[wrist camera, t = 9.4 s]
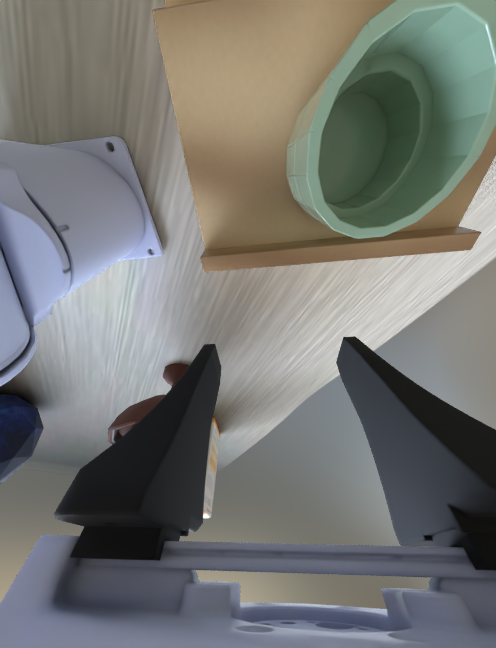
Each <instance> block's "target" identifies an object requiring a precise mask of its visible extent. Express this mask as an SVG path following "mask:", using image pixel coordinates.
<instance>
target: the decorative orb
mask: <svg viewBox="0 0 496 648" xmlns="http://www.w3.org/2000/svg"><path fill="white" fill-rule="evenodd" d="M42 431H43V425H42V421H41V418H40V415H39V412H38V409H37V408H36V407H34V406H32V405H31V404H29V403H28V402H26V401H24V400H23V399H21V398H19V397H18V396H16V395H0V483H2V482H4V481H5V480H7V479H8V478H9V477H10V476H11V475H12V474H13V473H14V472H15V471H16V470H17V469H18V468H19V467H20V466H22V465H23V464H24V463H25V462H26V461H27V460H28V459H29V458H30V457H31V456H32V454H33V452H34V449H35V447H36V445H37V442H38V440H39V438H40V435H41V433H42Z"/></svg>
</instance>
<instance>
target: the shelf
mask: <svg viewBox="0 0 496 648" xmlns="http://www.w3.org/2000/svg"><path fill="white" fill-rule="evenodd" d="M393 1H394V0H164V3H165V8H159V9H154V10H153V17H154V21H155V26H156V30H157V35H158V39H159V44H160V48H161V53H162V57H163V62H164V66H165V71H166V76H167V80H168V85H169V89H170V94H171V98H172V103H173V107H174V112H175V116H176V121H177V125H178V130H179V134H180V139H181V143H182V148H183V152H184V157H185V161H186V166H187V170H188V175H189V179H190V184H191V188H192V193H193V197H194V202H195V206H196V211H197V215H198V220H199V224H200V229H201V233H202V238H203V243H204V247H205V251H204V252H203V254H202V256H201V262H202V266H203V270H204V272H214V271H226V270H238V269H250V268H262V267H273V266H285V265H297V264H309V263H321V262H333V261H345V260H357V259H369V258H380V257H392V256H404V255H416V254H428V253H440V252H452V251H464V250H471V248H472V247H473V245H474V243H475V242H476V240H477V238H478V237H479V235H480V234H481V232H479V231H475V230H471V229H467V228H463V227H459V224H460V222H461V220H462V218H463V216H464V214H465V212H466V210H467V209H468V207H469V205H470V203H471V201H472V199H473V197H474V195H475V193H476V191H477V190H478V188H479V186H480V184H481V182H482V180H483V178H484V176H485V174H486V173H487V171H488V169H489V167H490V165H491V163H492V161H493V159H494V157H495V156H496V125H495V127H494V129H493V131H492V133H491V135H490V137H489V140H488V142H487V144H486V146H485V148H484V150H483V152H482V154H481V155H480V156H479V159H478V160H477V161H476V162H475V164H474V165H473V166H472V167H471V169H470V170H469V171H468V172H467V174H466V175H465V176H464V177H463V179H462V180H461V181H460V182H459V184H458V185H457V186H456V187H455V189H454V190H453V191H452V192H451V194H450V195H448V197H447V198H445V199H444V200H443V201H442V202H440V203H439V204H438V205H437V206H435V207H434V208H433V209H432V210H430V211H429V212H428V213H427V214H426V215H424V216H423V217H422V218H421V219H419V220H418V221H416V222H415V223H413V224H411V225H408V226H406V227H404V228H402V229H400V230H397V231H395V232H393V233H391V234H389V235H386V236H382V237H371V238H360V239H357V238H353V237H350V236H347V235H344V234H342V233H339V232H336V231H334V230H332V229H331V228H329V227H328V226H326V225H325V224H323V223H322V222H320V221H319V220H317V219H316V218H314V217H313V216H311V215H310V214H308V213H307V212H305V211H304V209H303V208H302V207H301V206H300V205H299V204H298V203H297V201H296V200H295V199H294V197H293V195H292V192H291V189H290V186H289V182H288V179H287V174H286V170H287V148H288V143H289V140H290V137H291V134H292V130H293V127H294V124H295V121H296V118H297V117H298V115H299V112H300V111H301V110H302V108H303V107H304V105H305V104H306V102H307V101H308V99H309V98H310V96H311V95H312V93H313V92H314V90H315V89H316V88H317V86H318V85H319V84H320V82H321V81H322V80H323V79H324V77H325V76H326V75H327V73H328V72H329V71H330V69H331V68H332V67H333V65H334V64H335V63H336V61H337V60H338V59H339V57H340V56H341V55H342V53H343V52H344V51H345V50H346V48H347V47H348V46H349V44H350V43H351V42H352V40H353V39H354V38H355V36H356V35H357V34H358V32H359V31H360V30H361V29H362V27H363V26H364V25H365V24H366V23H367V22H368V20H369V19H371V18H372V17H373V16H374V15H376V14H377V13H378V12H380V11H381V10H382V9H384V8H385V7H386V6H387V5H389V4H390V3H391V2H393Z"/></svg>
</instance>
